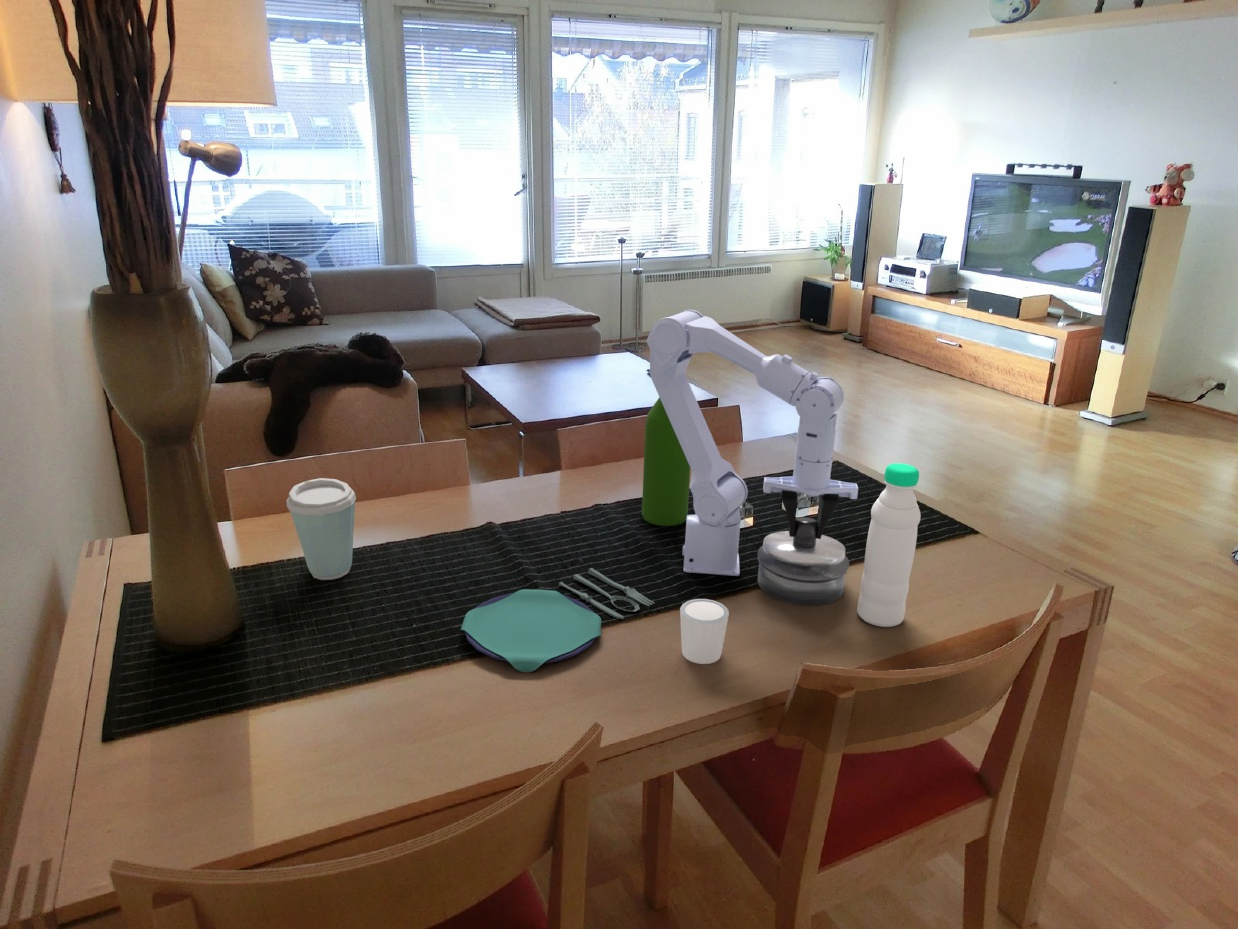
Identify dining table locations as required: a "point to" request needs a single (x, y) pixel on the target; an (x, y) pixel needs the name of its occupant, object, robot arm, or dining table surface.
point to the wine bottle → (664, 472)
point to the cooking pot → (801, 581)
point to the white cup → (703, 630)
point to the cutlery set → (541, 624)
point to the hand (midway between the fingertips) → (804, 535)
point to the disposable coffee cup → (324, 525)
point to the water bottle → (890, 548)
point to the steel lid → (804, 546)
